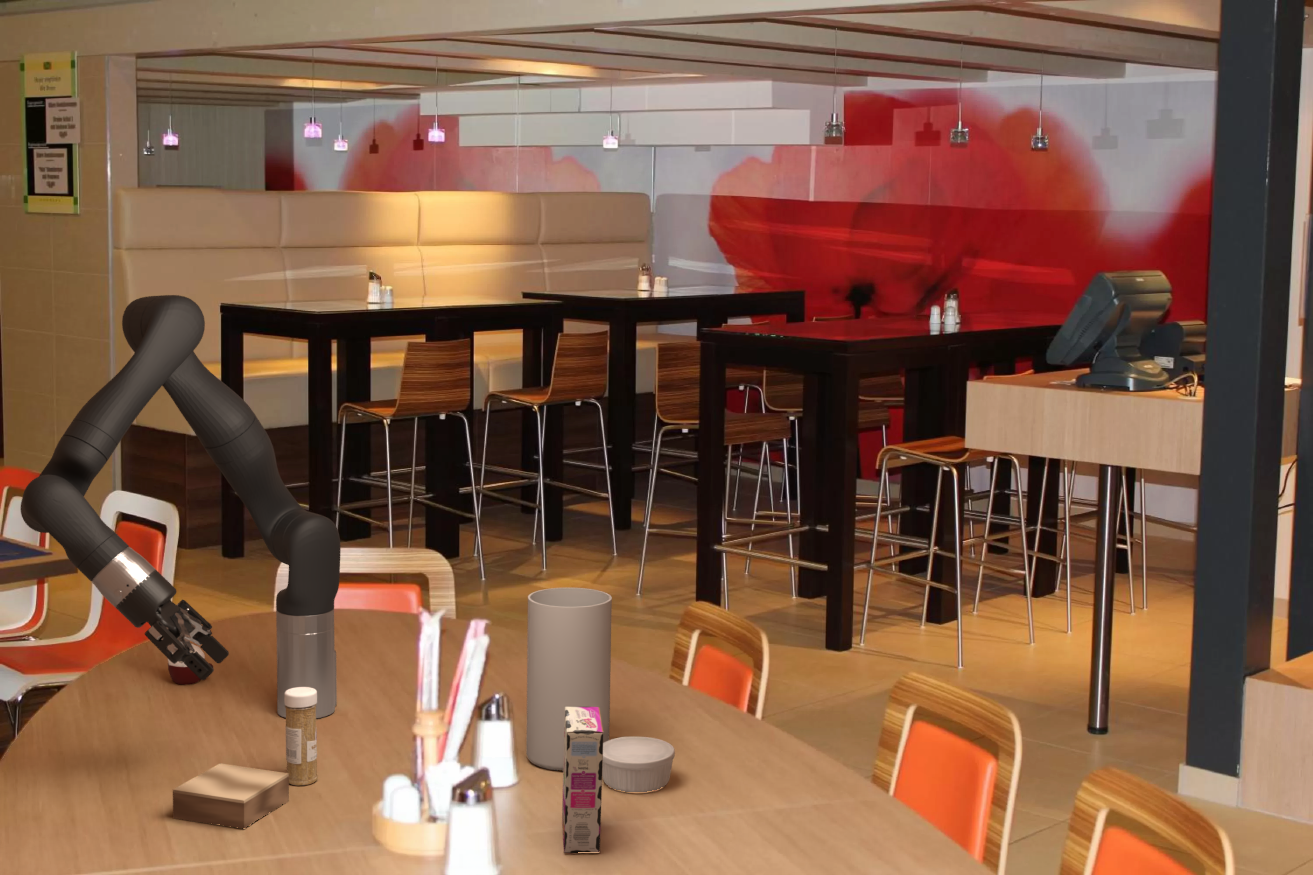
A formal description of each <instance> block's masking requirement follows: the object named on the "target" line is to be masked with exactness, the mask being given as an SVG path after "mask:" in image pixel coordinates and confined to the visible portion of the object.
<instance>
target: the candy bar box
mask: <svg viewBox="0 0 1313 875" xmlns="http://www.w3.org/2000/svg"><path fill="white" fill-rule="evenodd" d="M602 769H603V727H602V722H601V714H600V708H599V707H565V724H564V758H563V771H562V805H561V806H562V807H561V808H562V810H561V811H562V813H561V814H562V815H561V818H562V819H561V824H562V840H563V841H562V842H563V853H564V854H565V853H578V852H599V851H600V852H601V831H602V830H601V829H602V828H601V827H602V825H601V824H602V802H603V801H602V800H603V799H602V797H603V777H602Z"/></svg>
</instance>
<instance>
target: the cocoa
mask: <svg viewBox="0 0 1313 875" xmlns="http://www.w3.org/2000/svg"><path fill="white" fill-rule="evenodd" d="M191 645H192V646H193V648H194V650H195V652H196V651H197V652H198V653H199V654H200V655H201V656H202V657H203V658H204V659H205V658H206V657H205V652H204V650H203V649H202V648H201V647H200V645H197V644H196V645H195V643H191ZM195 652H194V653H195ZM171 653H172V654H173V652H171ZM166 658H167V657H166ZM205 660H206V659H205ZM208 663H209V664H210V665H211V666H212V667H213V668H214V664H212V663H211V662H208ZM167 669H168V673H169V677H170V679H171V680H172V681H173V682H174V683H175V684H177V685H180V686H190V685H194V684H197V683H199V681H202V680H201V679H200V678H199V677H198V676H197V675H196V674H194V673H193V672H192V671H191V670H190V669H189V668H188V667H187V666H186V665H185V664H184V662H183V663H179V662H177V663H176V664H174V663H172V662H171V661H170V660H169V659H168V658H167Z"/></svg>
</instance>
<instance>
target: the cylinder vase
mask: <svg viewBox="0 0 1313 875" xmlns="http://www.w3.org/2000/svg"><path fill="white" fill-rule="evenodd" d="M612 598H613V597H612V595H611V594H609V593H607V592H605V591H601V590H598V589H593V588H586V587H585V588H584V587H553V588H551V587H550V588H545V589H539V590H536V591H534V592H531V593H530V594H528V595H527V636H526V638H527V645H526V646H527V647H526V648H527V651H526V655H527V658H526V659H527V662H526V738H525V739H526V740H525V741H526V743H525V744H526V750H525V751H526V753H525V754H526V758H527V759H528V760H529V761H530V762H531V763H532V764H533V765H535V766H537V767H540V768H542V769H546V770H552V771H558V770H562V771H561V772H563V758H564V724H565V707H599V708H600V714H601V722H602V727H603V743H604V742H606V741H609V740H610V725H611V723H610V720H611V718H610V717H611V716H610V714H611V712H610V710H611V667H612V666H611V662H612V659H611V658H612V651H611V650H612V606H613V605H612V602H613V601H612V600H613V599H612Z"/></svg>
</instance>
